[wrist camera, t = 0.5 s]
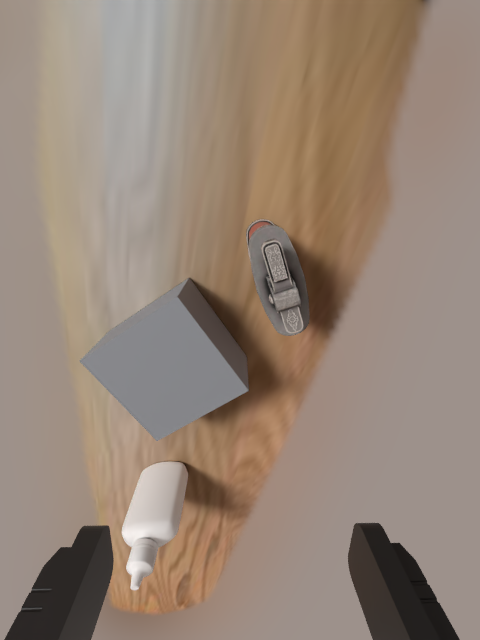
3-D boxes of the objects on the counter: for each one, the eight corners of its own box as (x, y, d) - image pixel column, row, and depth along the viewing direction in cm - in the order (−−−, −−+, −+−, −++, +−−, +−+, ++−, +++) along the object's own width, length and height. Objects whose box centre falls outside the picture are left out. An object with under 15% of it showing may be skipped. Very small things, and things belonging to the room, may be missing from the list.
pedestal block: (189, 277, 28) (177, 296, 22) (247, 356, 31) (248, 390, 26) (108, 331, 30) (79, 360, 24) (170, 400, 33) (156, 440, 28)
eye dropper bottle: (184, 487, 38) (162, 606, 27) (140, 479, 38) (99, 597, 26) (191, 462, 37) (171, 577, 25) (145, 453, 36) (104, 567, 25)
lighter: (298, 297, 29) (327, 343, 20) (265, 308, 29) (277, 358, 20) (275, 213, 26) (296, 220, 17) (238, 226, 26) (238, 239, 17)
